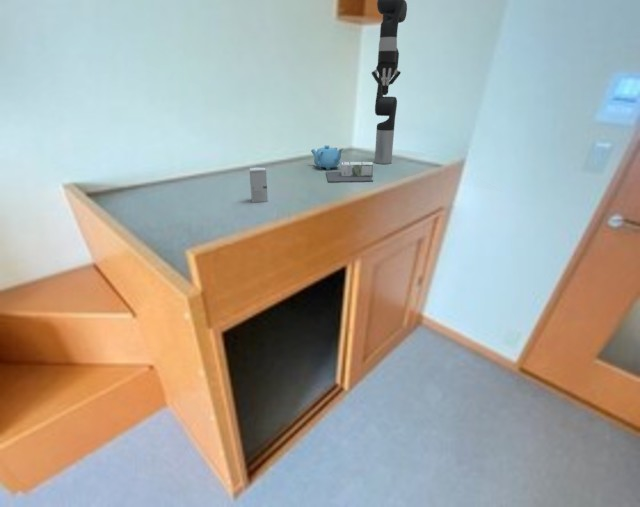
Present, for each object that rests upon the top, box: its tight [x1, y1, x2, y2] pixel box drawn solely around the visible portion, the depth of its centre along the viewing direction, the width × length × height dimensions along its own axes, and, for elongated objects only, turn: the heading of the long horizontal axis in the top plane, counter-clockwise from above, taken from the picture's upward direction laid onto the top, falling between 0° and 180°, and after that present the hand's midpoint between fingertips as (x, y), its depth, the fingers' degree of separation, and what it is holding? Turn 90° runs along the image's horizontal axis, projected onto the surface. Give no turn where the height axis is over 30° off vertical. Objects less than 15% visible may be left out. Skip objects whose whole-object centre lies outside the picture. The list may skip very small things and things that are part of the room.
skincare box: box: [248, 166, 269, 203], centre depth 131 cm, size 6×4×12 cm
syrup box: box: [340, 161, 374, 178], centre depth 164 cm, size 6×6×14 cm
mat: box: [325, 171, 374, 184], centre depth 165 cm, size 18×20×1 cm
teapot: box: [310, 144, 344, 171], centre depth 180 cm, size 15×14×11 cm
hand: (384, 95), depth 156 cm, fingers closed
